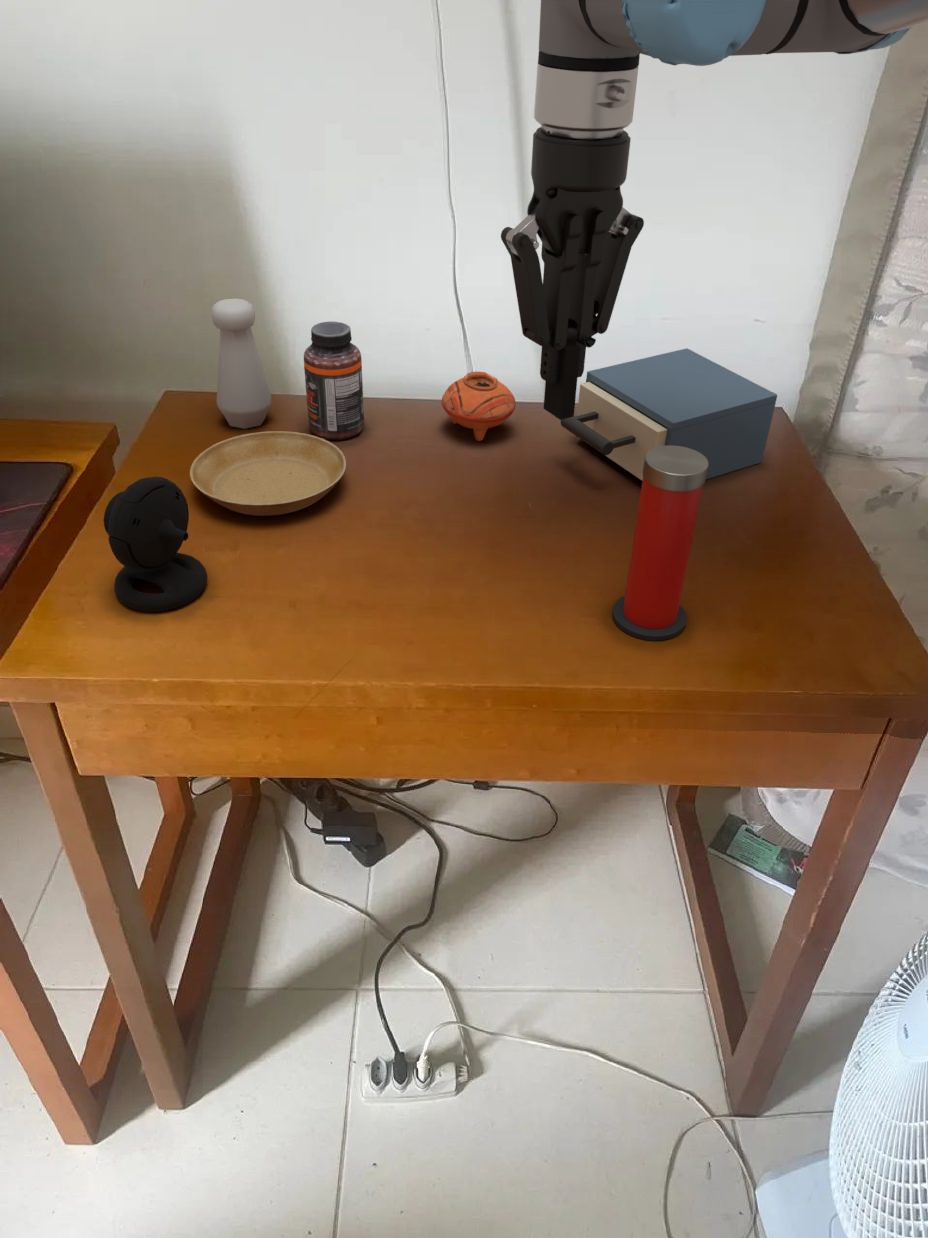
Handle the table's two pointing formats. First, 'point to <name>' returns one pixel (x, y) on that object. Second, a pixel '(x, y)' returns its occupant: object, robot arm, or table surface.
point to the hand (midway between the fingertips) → (558, 412)
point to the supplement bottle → (333, 382)
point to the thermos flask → (663, 534)
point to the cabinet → (696, 405)
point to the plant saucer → (268, 472)
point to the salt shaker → (239, 366)
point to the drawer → (615, 428)
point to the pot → (478, 402)
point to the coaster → (645, 632)
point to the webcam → (153, 545)
